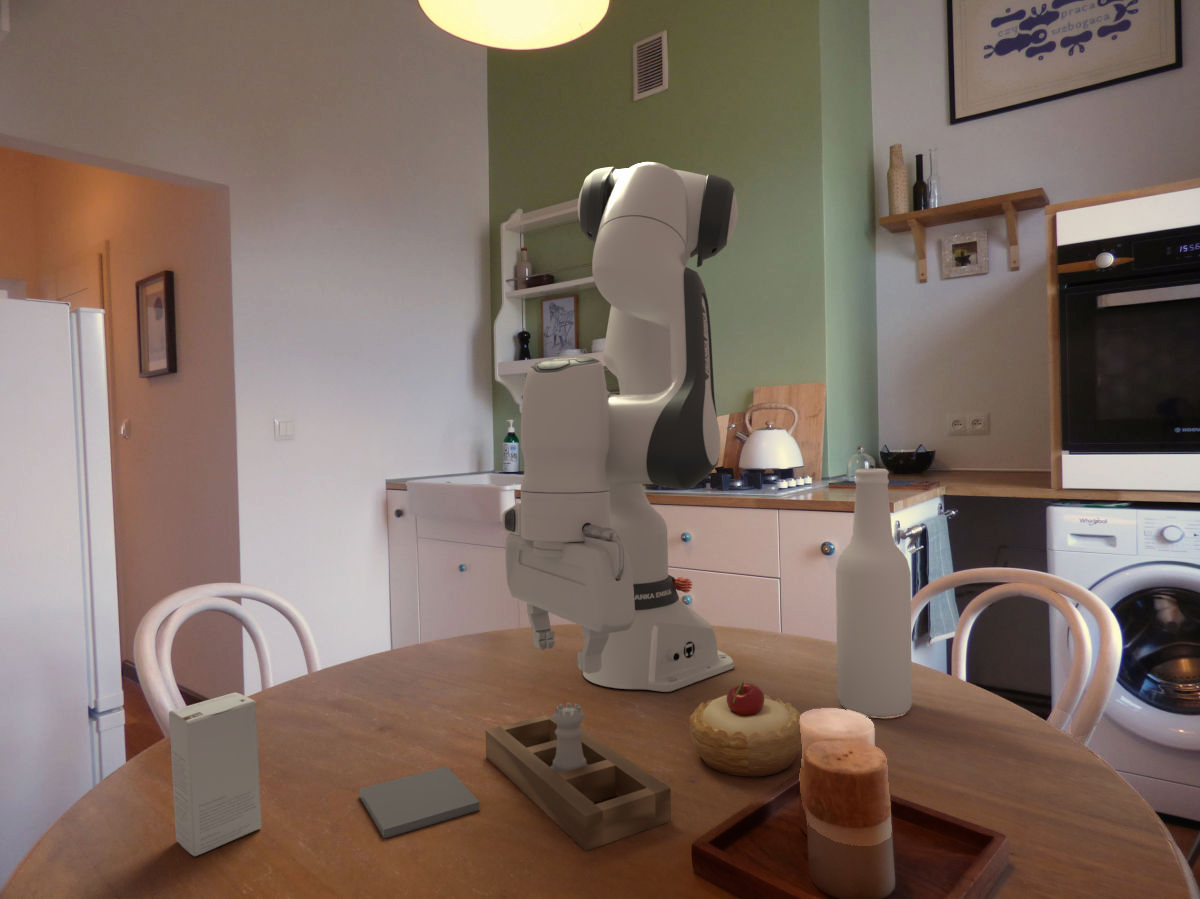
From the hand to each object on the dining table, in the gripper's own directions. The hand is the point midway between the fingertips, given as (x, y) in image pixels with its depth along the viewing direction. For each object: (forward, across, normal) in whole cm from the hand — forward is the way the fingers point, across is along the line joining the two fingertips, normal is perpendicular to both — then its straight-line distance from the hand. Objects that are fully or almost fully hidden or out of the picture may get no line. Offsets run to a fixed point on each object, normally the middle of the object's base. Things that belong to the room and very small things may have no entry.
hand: (565, 658), depth 75 cm
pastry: (+13, -5, -20) cm, 24 cm away
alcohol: (+12, -3, -43) cm, 44 cm away
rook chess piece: (+13, 0, -1) cm, 13 cm away
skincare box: (+14, +10, +30) cm, 35 cm away
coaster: (+13, +6, +13) cm, 20 cm away
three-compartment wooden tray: (+13, 0, -1) cm, 13 cm away
